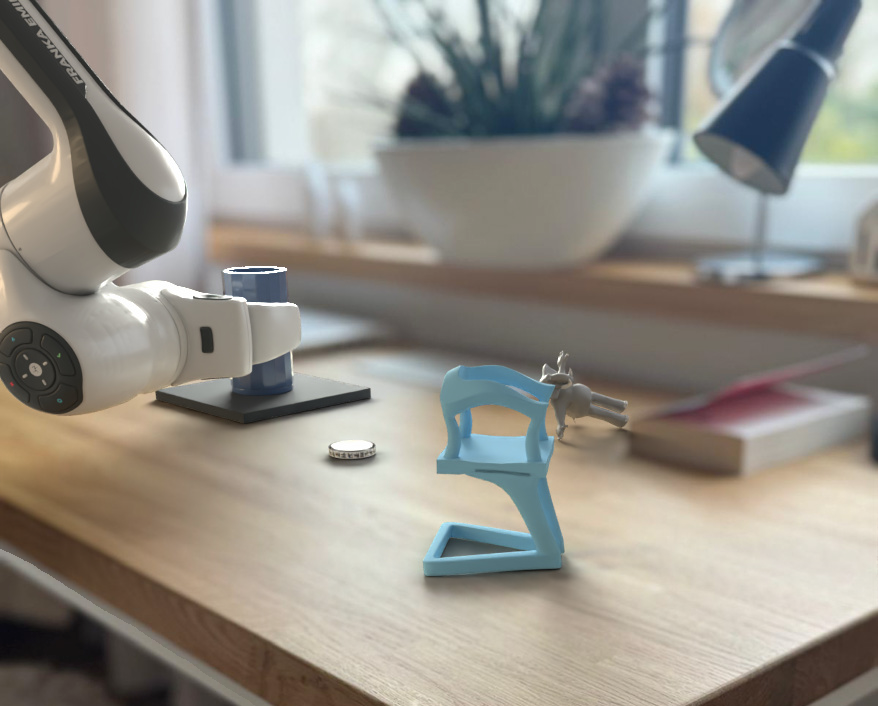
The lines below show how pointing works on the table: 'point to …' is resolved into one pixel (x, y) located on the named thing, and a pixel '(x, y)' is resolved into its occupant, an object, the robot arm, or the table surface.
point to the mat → (262, 398)
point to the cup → (261, 289)
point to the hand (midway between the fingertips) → (229, 313)
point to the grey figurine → (579, 399)
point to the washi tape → (352, 449)
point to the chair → (499, 472)
